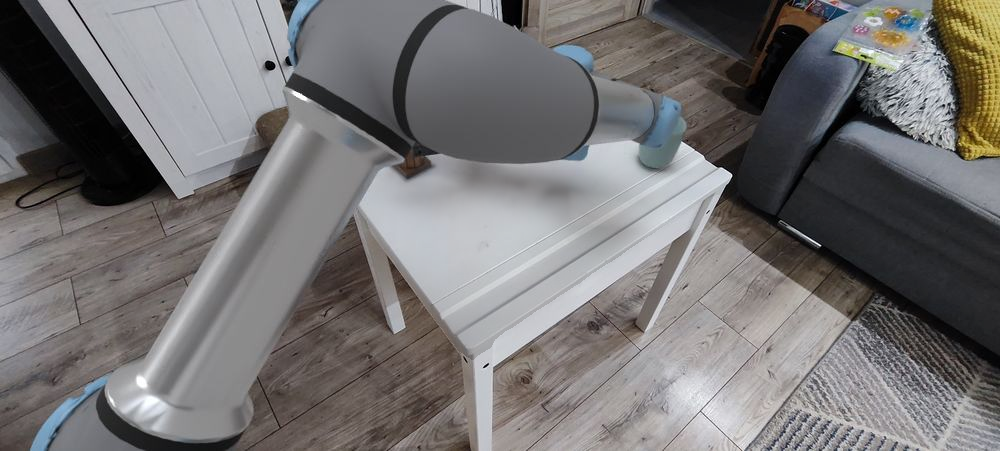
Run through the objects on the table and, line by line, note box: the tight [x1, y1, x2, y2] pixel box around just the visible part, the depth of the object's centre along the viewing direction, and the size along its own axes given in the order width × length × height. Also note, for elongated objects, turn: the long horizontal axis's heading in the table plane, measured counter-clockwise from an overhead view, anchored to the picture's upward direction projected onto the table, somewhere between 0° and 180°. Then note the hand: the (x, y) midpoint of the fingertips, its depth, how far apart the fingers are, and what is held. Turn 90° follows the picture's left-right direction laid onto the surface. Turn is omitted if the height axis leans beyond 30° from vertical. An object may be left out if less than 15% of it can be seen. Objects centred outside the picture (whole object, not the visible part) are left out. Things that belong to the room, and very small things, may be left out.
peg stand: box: [392, 156, 432, 180], centre depth 90 cm, size 6×6×11 cm
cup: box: [637, 116, 687, 169], centre depth 93 cm, size 8×8×10 cm
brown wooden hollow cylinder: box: [398, 149, 424, 169], centre depth 88 cm, size 6×6×14 cm
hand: (392, 111), depth 85 cm, fingers open, 13 cm apart
